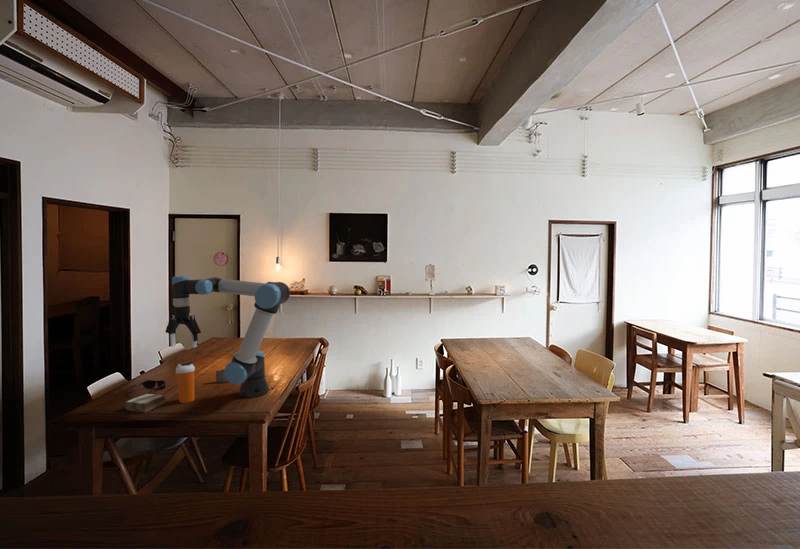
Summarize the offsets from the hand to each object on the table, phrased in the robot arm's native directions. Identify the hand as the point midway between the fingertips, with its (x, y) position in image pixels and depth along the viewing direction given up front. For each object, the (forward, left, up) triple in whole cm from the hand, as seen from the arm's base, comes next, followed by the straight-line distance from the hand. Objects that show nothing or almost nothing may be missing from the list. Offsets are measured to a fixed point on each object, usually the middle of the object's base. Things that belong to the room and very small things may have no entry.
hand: (183, 346), depth 215 cm
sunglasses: (+32, -6, -29) cm, 43 cm away
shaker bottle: (0, 0, -28) cm, 29 cm away
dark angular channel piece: (+1, -32, -29) cm, 43 cm away
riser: (+14, +12, -28) cm, 34 cm away
